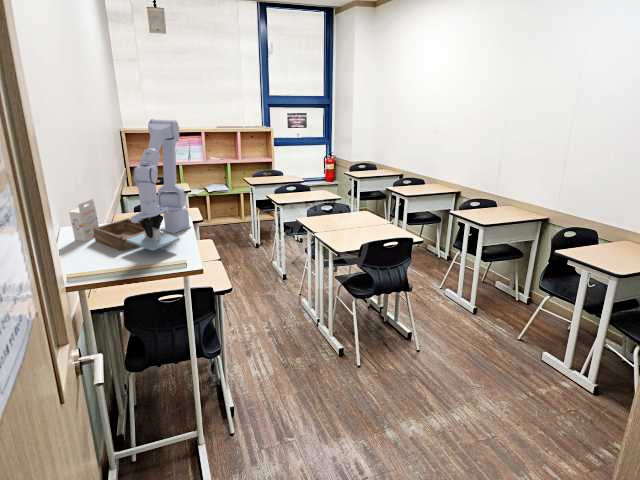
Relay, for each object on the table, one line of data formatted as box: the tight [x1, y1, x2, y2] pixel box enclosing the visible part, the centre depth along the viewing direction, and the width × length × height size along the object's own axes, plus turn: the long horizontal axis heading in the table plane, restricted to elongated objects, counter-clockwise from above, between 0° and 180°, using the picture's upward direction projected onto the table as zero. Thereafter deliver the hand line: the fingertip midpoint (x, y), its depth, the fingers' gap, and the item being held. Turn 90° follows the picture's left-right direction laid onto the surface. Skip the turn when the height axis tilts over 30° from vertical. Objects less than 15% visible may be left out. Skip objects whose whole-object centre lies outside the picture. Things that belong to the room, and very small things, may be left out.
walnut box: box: [93, 217, 144, 252], centre depth 166 cm, size 15×16×5 cm
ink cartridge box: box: [68, 198, 100, 242], centre depth 166 cm, size 9×5×15 cm, turn 168°
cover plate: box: [126, 227, 180, 251], centre depth 157 cm, size 12×14×5 cm
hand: (153, 236), depth 157 cm, fingers closed on cover plate
